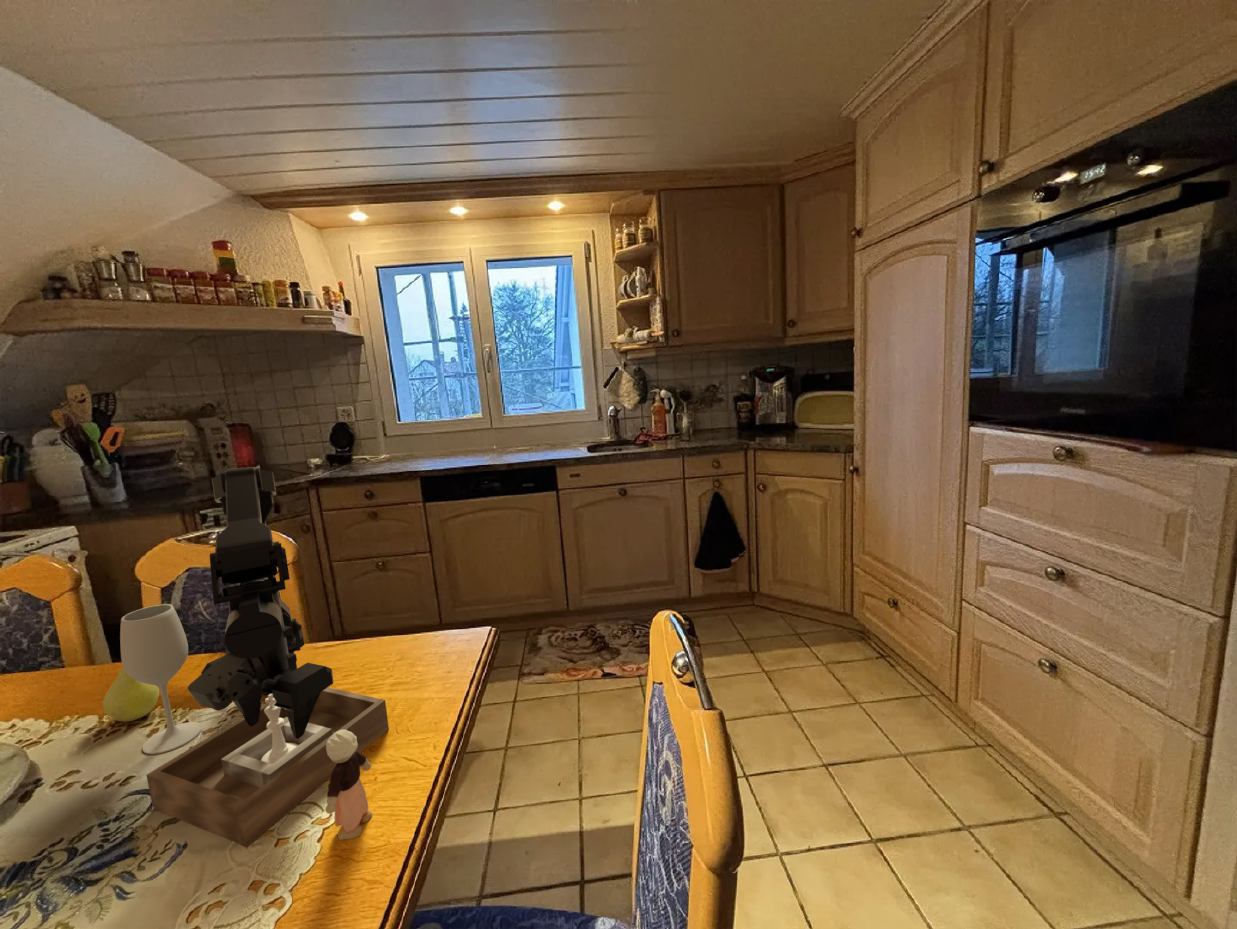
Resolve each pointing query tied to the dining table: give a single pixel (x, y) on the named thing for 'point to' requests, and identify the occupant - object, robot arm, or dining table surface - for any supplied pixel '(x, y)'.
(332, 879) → the dining table surface
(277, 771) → the walnut box
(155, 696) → the fruit
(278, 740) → the chess piece
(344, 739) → the grandmother figurine
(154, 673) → the wineglass
